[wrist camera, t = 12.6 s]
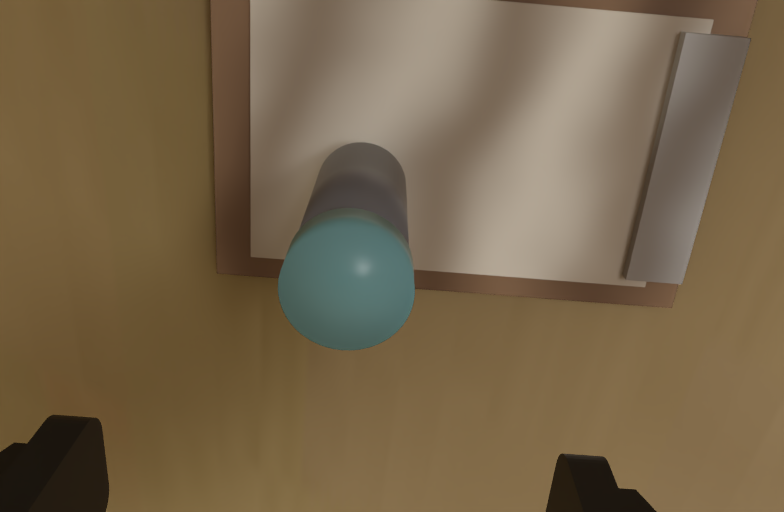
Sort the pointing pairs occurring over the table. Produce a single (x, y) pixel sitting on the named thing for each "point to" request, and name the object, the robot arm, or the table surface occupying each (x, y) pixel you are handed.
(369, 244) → the marker
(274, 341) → the table surface
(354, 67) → the writing board
